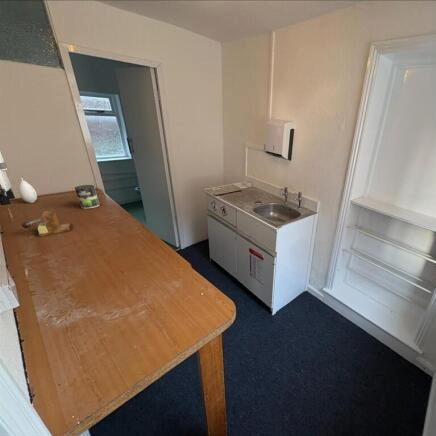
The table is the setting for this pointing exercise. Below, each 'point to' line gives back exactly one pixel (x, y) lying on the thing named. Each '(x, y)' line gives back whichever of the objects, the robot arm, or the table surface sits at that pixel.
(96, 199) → the coffee can
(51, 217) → the wooden toy catapult
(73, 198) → the table surface
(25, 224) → the ball knob on post
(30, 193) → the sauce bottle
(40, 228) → the butter
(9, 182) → the robot arm
